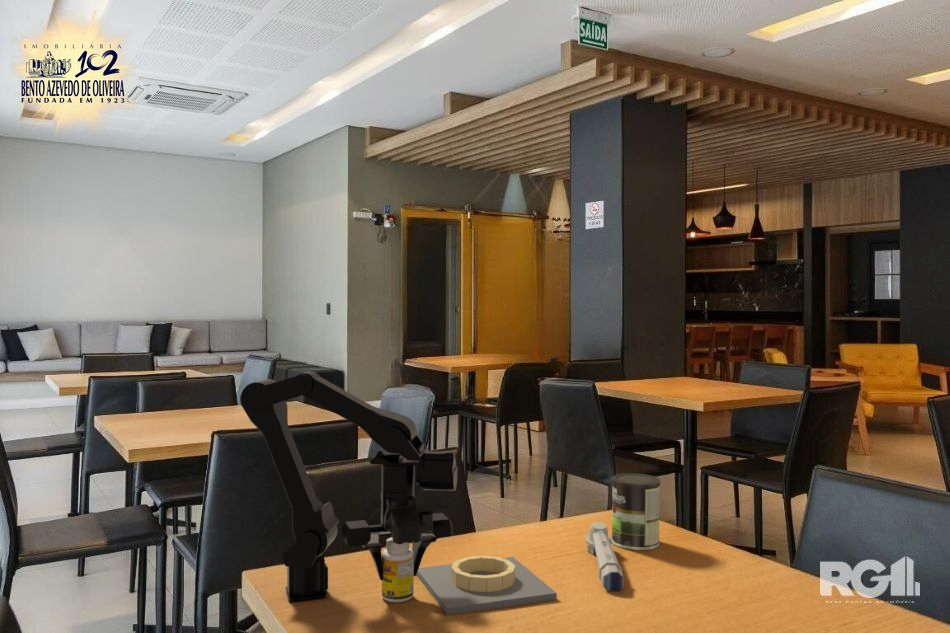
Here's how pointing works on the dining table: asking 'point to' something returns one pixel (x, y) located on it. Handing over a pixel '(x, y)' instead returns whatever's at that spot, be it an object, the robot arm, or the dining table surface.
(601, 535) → the grey blue-tipped handheld tool
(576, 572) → the dining table surface
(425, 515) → the robot arm
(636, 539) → the coffee can
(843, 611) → the dining table surface
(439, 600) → the grey board with ring
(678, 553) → the dining table surface
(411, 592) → the supplement bottle
